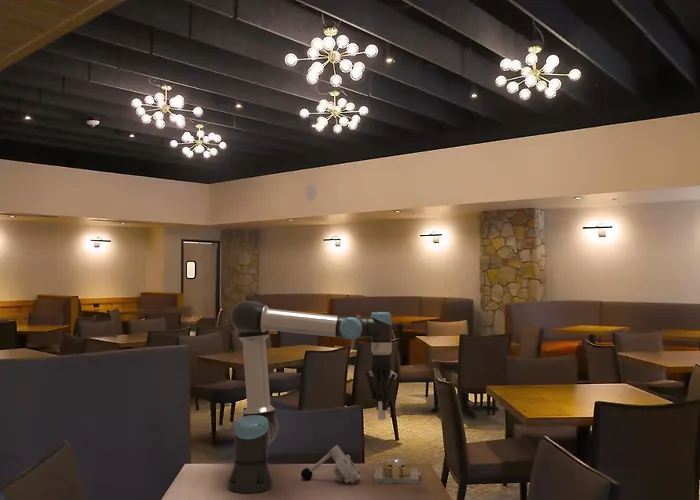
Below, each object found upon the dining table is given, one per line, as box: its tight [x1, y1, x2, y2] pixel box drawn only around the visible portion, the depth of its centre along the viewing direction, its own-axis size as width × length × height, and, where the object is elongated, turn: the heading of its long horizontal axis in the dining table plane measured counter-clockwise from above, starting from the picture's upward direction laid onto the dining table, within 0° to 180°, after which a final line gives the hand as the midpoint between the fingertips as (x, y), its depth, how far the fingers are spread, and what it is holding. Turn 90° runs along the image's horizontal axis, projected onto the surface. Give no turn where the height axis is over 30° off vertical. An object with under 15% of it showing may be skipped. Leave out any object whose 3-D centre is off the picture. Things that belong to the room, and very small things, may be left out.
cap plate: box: [373, 457, 421, 485], centre depth 224 cm, size 17×16×6 cm
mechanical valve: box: [300, 444, 362, 484], centre depth 219 cm, size 10×18×15 cm
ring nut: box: [382, 461, 411, 479], centre depth 222 cm, size 14×10×5 cm
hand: (382, 419), depth 221 cm, fingers closed
